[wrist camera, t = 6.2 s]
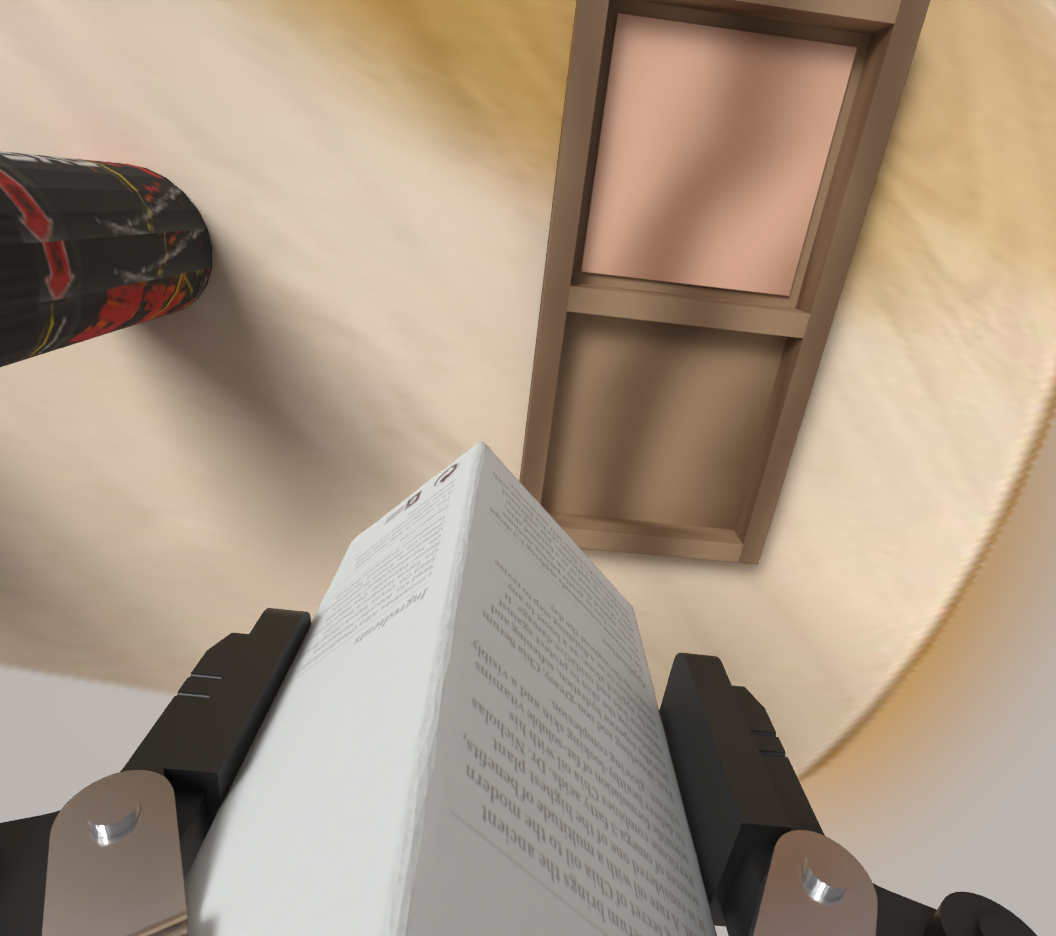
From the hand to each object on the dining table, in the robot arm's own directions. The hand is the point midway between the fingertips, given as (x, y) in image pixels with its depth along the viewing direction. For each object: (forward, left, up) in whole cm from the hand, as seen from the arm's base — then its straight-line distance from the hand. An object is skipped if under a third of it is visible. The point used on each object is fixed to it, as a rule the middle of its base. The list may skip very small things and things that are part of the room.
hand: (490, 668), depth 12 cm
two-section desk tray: (+7, +5, -18) cm, 20 cm away
